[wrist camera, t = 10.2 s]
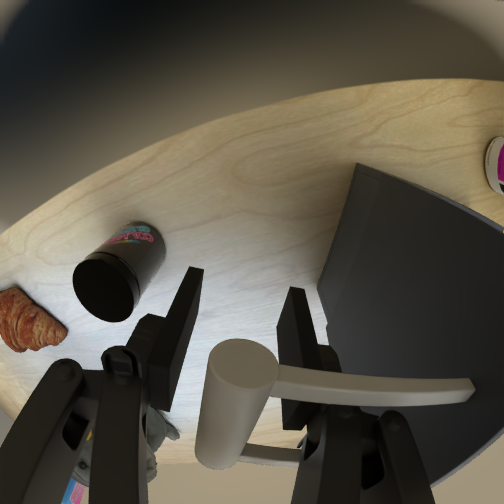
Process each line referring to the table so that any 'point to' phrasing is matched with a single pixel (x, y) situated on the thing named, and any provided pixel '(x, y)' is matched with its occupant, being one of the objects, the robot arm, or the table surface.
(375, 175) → the compartment
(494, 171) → the supplement can
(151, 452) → the stuffed elephant
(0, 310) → the pastry
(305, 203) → the table surface
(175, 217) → the table surface
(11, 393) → the table surface
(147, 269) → the supplement container
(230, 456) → the lid
